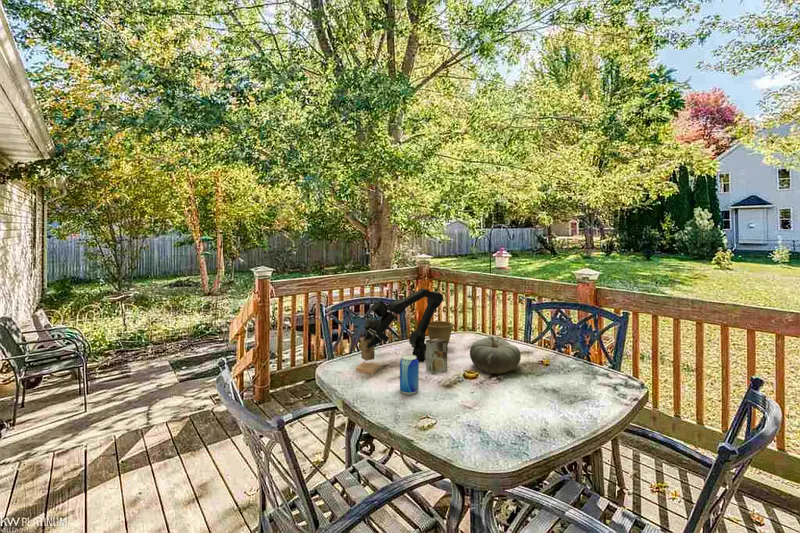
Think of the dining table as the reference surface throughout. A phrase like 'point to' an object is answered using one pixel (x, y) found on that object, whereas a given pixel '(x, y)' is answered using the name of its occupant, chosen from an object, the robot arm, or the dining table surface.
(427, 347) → the coffee box
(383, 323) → the robot arm
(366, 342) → the walnut block
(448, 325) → the plant pot
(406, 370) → the beer can
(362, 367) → the terracotta tile
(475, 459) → the dining table surface
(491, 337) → the gourd
